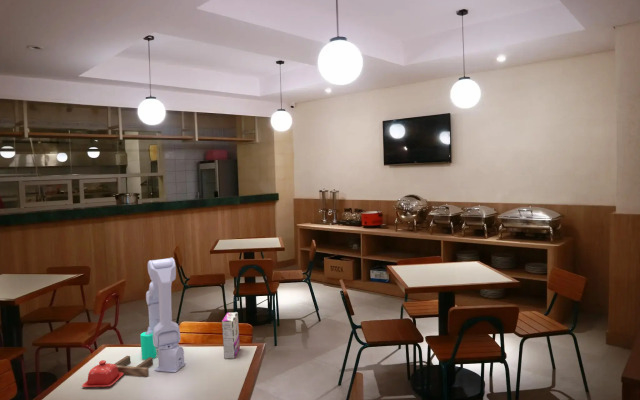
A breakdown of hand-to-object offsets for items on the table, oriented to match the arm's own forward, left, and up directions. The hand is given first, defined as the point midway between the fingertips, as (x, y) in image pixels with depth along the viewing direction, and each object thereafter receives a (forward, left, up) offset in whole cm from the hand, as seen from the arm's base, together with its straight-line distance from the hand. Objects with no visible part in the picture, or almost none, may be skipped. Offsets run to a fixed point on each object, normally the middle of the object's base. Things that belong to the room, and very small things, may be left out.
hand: (157, 348), depth 204 cm
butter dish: (+4, +30, -2) cm, 30 cm away
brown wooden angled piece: (0, +17, -1) cm, 18 cm away
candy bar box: (-34, -3, -2) cm, 34 cm away
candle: (0, +6, -2) cm, 7 cm away
